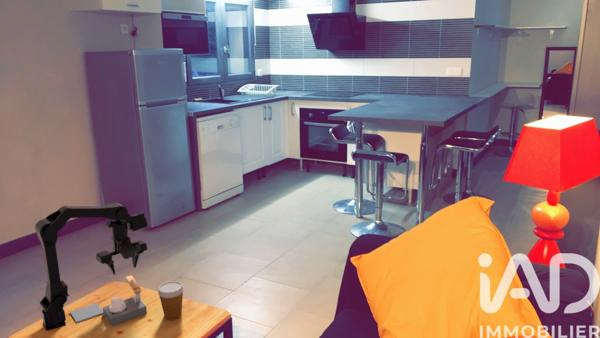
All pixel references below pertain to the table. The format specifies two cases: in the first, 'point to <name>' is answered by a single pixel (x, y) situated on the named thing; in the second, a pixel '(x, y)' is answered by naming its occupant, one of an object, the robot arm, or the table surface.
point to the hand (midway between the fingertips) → (124, 271)
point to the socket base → (126, 310)
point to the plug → (117, 305)
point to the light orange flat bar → (133, 284)
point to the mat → (86, 312)
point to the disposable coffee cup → (171, 299)
